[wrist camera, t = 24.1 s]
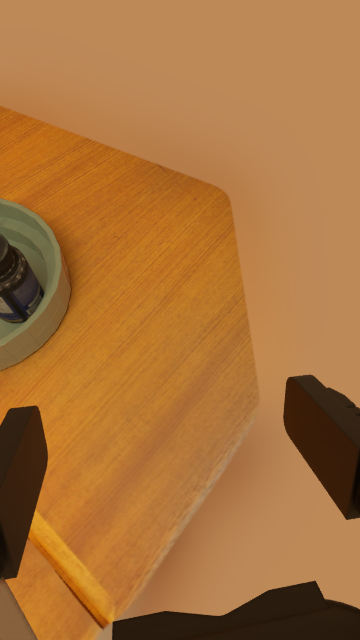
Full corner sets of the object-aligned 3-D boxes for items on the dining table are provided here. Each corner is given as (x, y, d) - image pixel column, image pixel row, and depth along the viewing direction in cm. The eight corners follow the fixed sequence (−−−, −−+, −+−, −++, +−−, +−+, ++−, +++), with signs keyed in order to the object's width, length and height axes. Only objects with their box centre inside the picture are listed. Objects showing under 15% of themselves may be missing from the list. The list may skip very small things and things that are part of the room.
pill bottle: (36, 274, 45) (4, 215, 35) (54, 311, 43) (26, 260, 33) (-13, 294, 43) (-61, 237, 33) (4, 333, 41) (-42, 286, 31)
